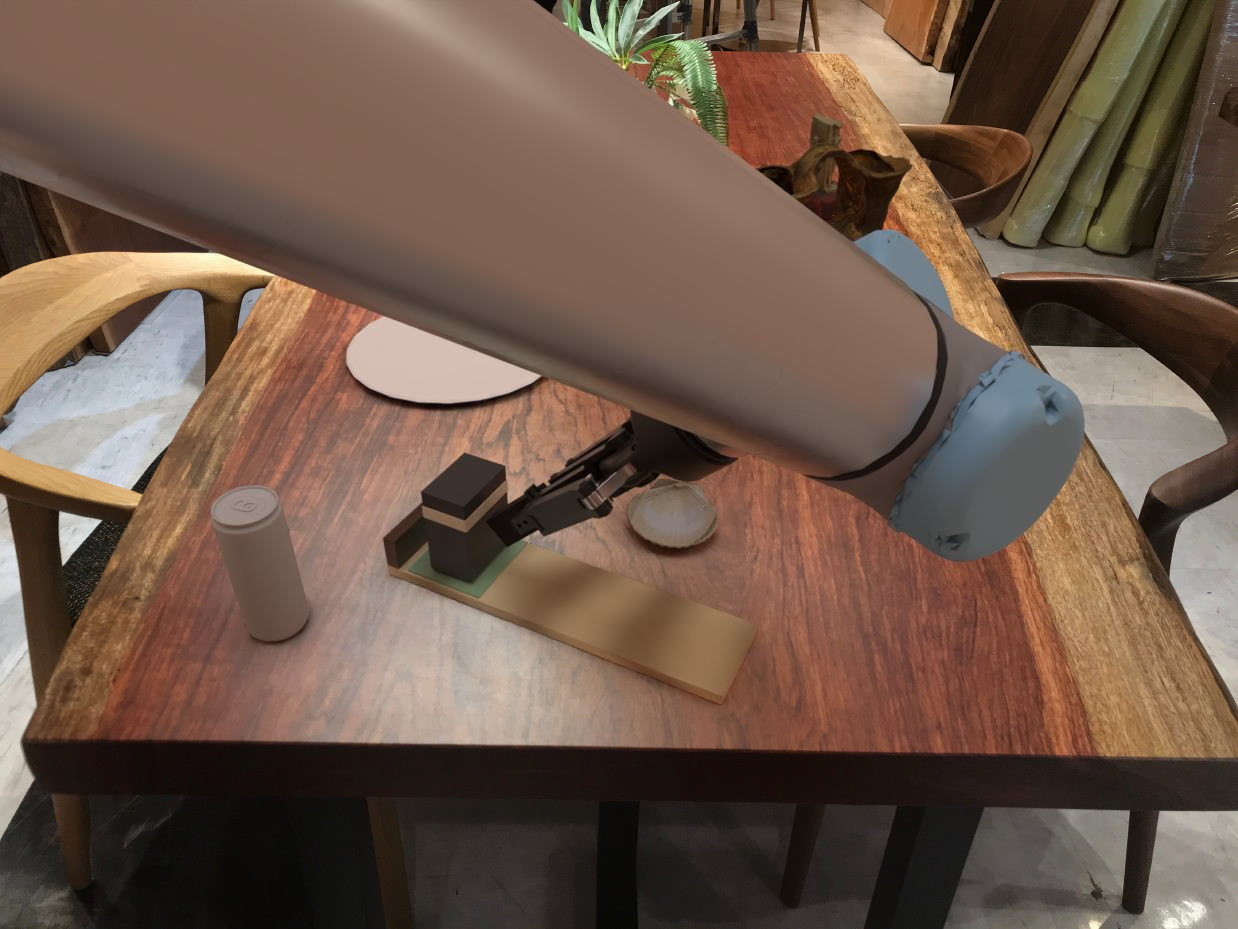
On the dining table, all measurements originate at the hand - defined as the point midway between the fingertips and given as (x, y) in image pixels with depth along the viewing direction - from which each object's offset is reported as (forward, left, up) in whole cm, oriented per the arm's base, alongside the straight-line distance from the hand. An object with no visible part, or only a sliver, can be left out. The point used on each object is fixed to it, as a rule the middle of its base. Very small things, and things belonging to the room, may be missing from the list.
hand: (501, 529), depth 72 cm
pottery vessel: (+65, -18, -6) cm, 68 cm away
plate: (+34, +20, -6) cm, 40 cm away
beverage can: (-10, +15, -6) cm, 19 cm away
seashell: (+11, -12, -6) cm, 17 cm away
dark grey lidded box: (+1, +3, -4) cm, 5 cm away
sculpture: (+97, -16, -6) cm, 98 cm away
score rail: (-1, -6, -5) cm, 8 cm away
